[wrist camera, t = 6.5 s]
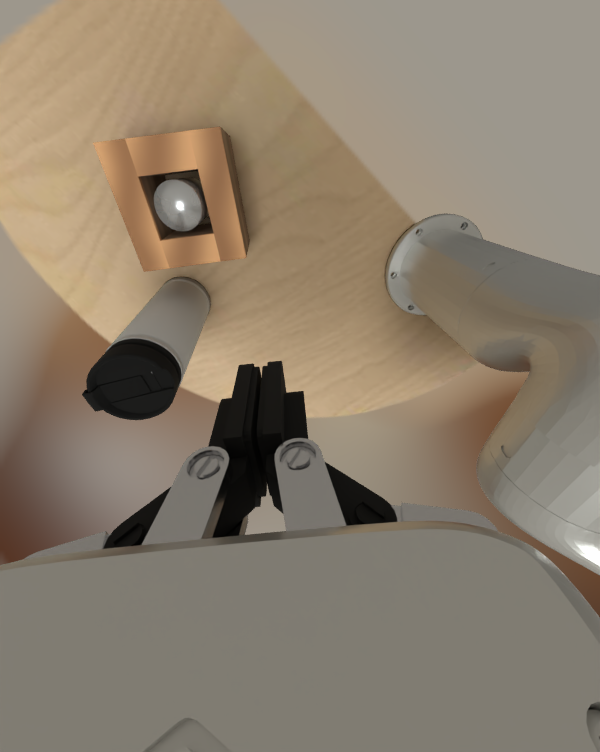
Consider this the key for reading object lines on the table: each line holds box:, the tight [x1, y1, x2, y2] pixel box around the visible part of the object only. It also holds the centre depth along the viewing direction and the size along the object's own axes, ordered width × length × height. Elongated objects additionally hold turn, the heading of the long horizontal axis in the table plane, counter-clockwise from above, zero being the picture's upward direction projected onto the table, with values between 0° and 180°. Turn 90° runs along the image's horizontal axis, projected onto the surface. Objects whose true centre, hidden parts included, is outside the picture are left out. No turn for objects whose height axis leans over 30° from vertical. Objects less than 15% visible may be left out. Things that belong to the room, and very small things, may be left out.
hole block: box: [93, 127, 250, 272], centre depth 30 cm, size 10×10×8 cm
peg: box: [154, 177, 209, 231], centre depth 30 cm, size 4×4×8 cm
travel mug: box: [82, 277, 211, 420], centre depth 31 cm, size 6×7×20 cm
